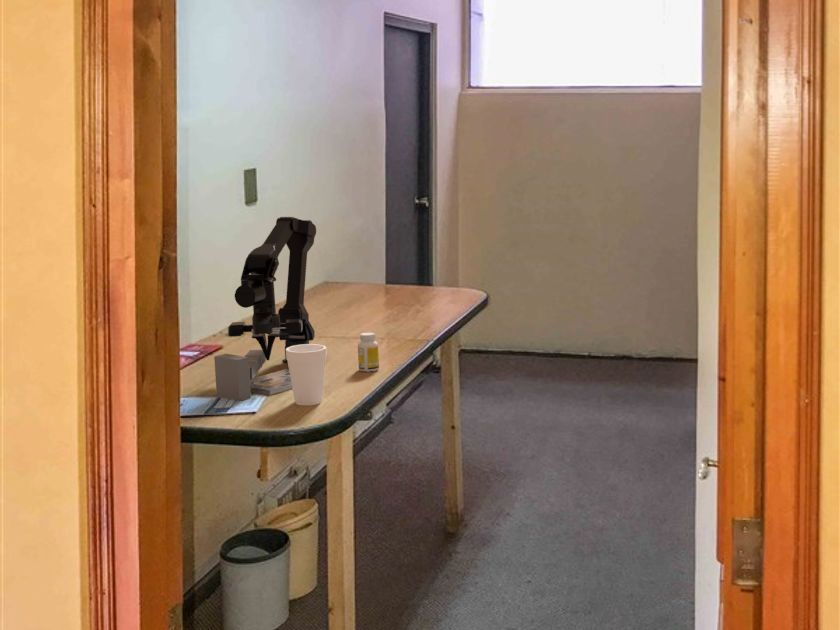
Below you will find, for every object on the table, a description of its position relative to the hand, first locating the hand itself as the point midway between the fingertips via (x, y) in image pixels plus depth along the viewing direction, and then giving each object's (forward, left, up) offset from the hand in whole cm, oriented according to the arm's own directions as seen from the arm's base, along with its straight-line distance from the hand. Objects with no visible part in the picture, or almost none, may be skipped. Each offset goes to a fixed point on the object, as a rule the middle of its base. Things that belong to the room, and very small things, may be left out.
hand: (268, 360), depth 272 cm
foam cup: (+13, +26, -5) cm, 30 cm away
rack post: (+19, +7, -5) cm, 21 cm away
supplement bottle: (-20, +17, -5) cm, 27 cm away
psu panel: (+4, +7, -5) cm, 10 cm away
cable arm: (+8, +2, -4) cm, 9 cm away
